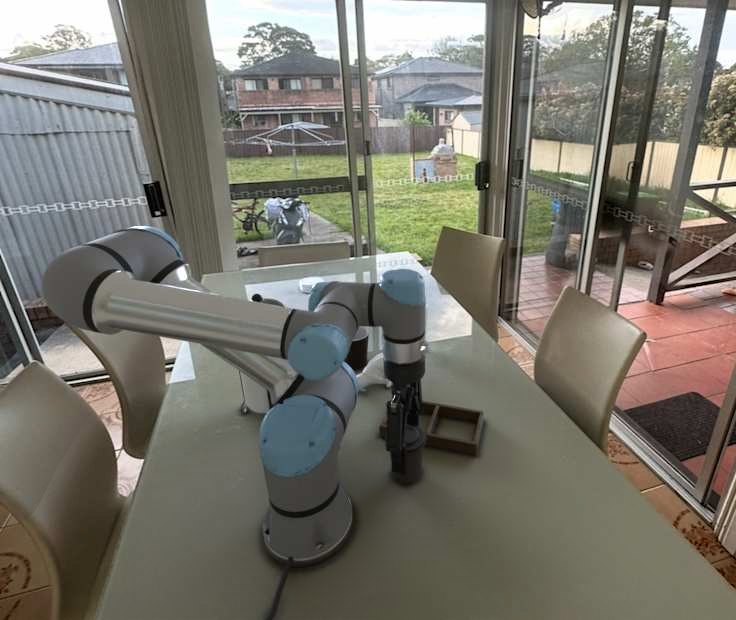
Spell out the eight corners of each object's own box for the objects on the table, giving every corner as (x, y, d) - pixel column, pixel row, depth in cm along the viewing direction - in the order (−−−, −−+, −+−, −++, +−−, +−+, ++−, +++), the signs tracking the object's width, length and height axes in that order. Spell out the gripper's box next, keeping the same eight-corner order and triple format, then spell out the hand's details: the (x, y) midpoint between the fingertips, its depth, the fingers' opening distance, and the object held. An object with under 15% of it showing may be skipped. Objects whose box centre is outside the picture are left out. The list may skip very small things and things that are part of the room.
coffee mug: (365, 374, 121) (363, 342, 118) (335, 370, 123) (333, 339, 119) (376, 352, 132) (375, 322, 128) (349, 349, 134) (347, 320, 130)
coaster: (297, 286, 181) (297, 278, 180) (321, 282, 185) (321, 274, 184) (302, 295, 173) (302, 286, 171) (327, 290, 176) (327, 282, 175)
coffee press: (237, 433, 100) (214, 314, 89) (243, 392, 114) (224, 285, 103) (315, 419, 104) (303, 304, 93) (311, 381, 118) (300, 277, 107)
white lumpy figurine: (397, 356, 113) (355, 374, 108) (400, 383, 117) (360, 401, 111) (385, 345, 118) (344, 362, 113) (389, 371, 122) (349, 389, 116)
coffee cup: (380, 484, 86) (378, 443, 82) (394, 454, 93) (393, 416, 90) (420, 493, 84) (420, 452, 80) (431, 462, 91) (431, 423, 87)
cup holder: (476, 456, 93) (476, 444, 92) (379, 436, 98) (379, 425, 97) (483, 421, 103) (484, 411, 102) (395, 406, 108) (395, 395, 107)
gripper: (407, 392, 68) (409, 501, 76) (438, 330, 87) (437, 423, 95) (362, 385, 70) (368, 492, 78) (401, 325, 89) (403, 417, 97)
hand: (406, 454), depth 87 cm, fingers closed on coffee cup, 8 cm apart
